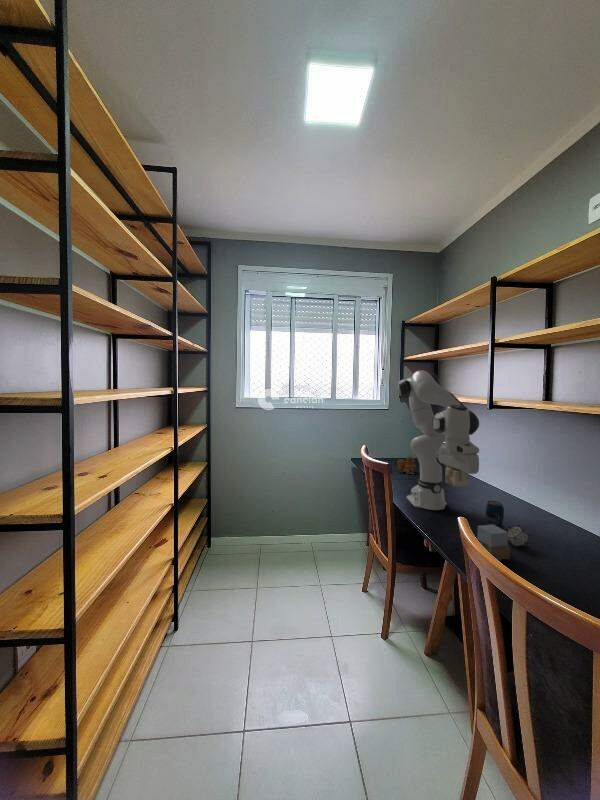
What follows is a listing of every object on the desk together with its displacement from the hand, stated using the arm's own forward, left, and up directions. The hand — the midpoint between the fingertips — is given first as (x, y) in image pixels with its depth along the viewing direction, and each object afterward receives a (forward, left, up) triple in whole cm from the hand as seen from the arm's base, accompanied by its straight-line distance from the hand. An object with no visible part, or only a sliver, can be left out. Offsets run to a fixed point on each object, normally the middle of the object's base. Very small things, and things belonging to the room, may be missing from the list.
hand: (456, 479), depth 127 cm
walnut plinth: (+9, +9, -27) cm, 30 cm away
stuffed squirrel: (-104, +35, -28) cm, 113 cm away
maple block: (0, 0, -2) cm, 2 cm away
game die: (+5, +24, -27) cm, 37 cm away
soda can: (-10, +27, -27) cm, 39 cm away
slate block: (+9, +9, -22) cm, 26 cm away
